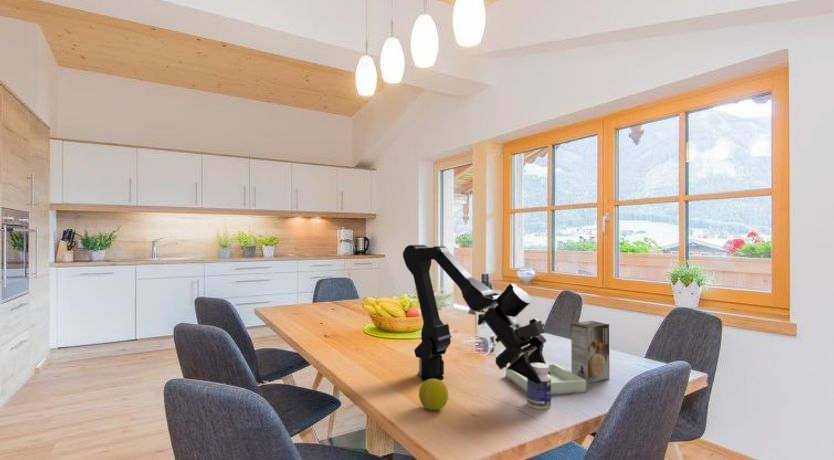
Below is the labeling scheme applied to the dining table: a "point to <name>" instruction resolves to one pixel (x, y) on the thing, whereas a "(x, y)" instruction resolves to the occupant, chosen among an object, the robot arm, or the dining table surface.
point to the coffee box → (590, 350)
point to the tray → (553, 380)
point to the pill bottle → (539, 388)
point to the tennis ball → (433, 394)
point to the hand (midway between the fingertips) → (544, 379)
